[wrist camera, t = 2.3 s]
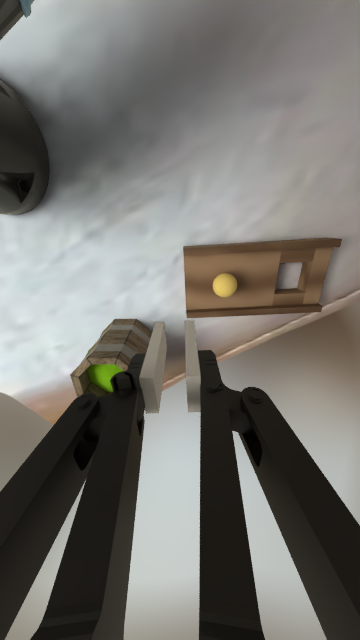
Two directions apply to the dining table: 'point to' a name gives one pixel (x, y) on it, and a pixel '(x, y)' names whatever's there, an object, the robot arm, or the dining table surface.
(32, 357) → the dining table surface
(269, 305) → the lane board
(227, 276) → the ball
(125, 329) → the mug
